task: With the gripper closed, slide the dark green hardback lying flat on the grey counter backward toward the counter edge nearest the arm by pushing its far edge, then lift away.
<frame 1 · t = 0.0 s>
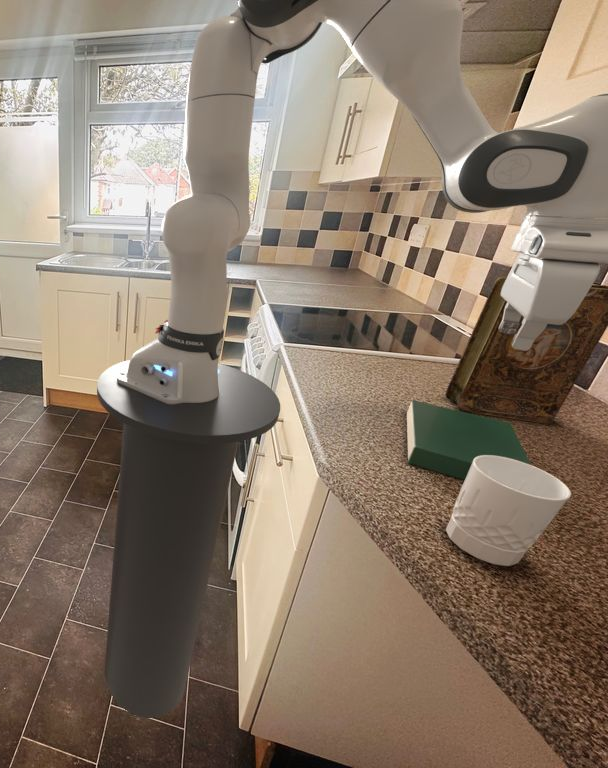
hand: (511, 340, 61), 19 cm above the countertop, tool pointing down, fingers open, 8 cm apart
white cup: (479, 545, 50), on the countertop
hardback: (458, 449, 69), on the countertop
book: (496, 412, 82), on the countertop
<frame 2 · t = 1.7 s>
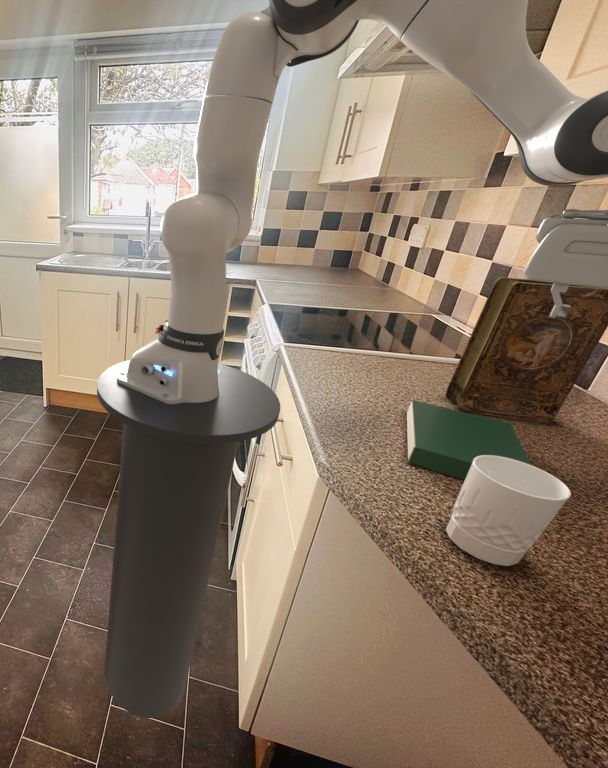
hand: (606, 325, 55), 23 cm above the countertop, tool pointing down, fingers open, 8 cm apart
nothing on the countertop moved.
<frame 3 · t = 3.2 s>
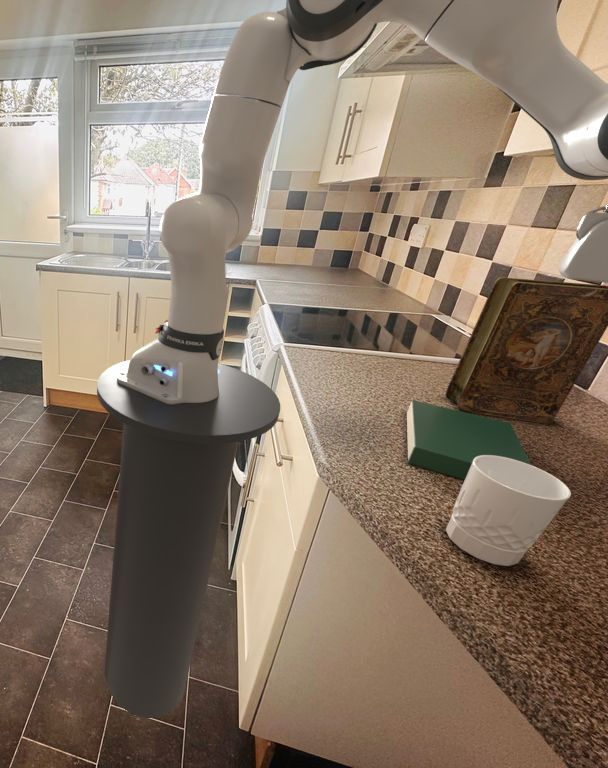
nothing on the countertop moved.
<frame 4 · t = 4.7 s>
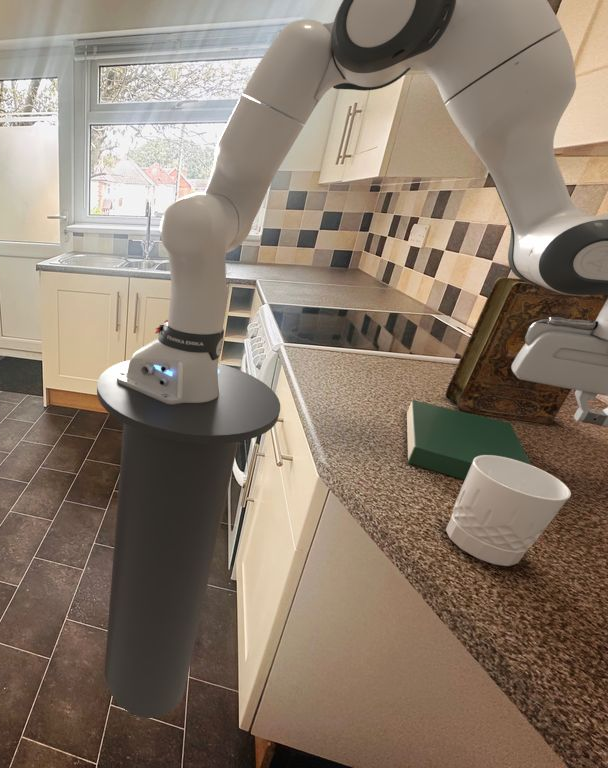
hand: (589, 422, 59), 9 cm above the countertop, tool pointing down, fingers closed
nothing on the countertop moved.
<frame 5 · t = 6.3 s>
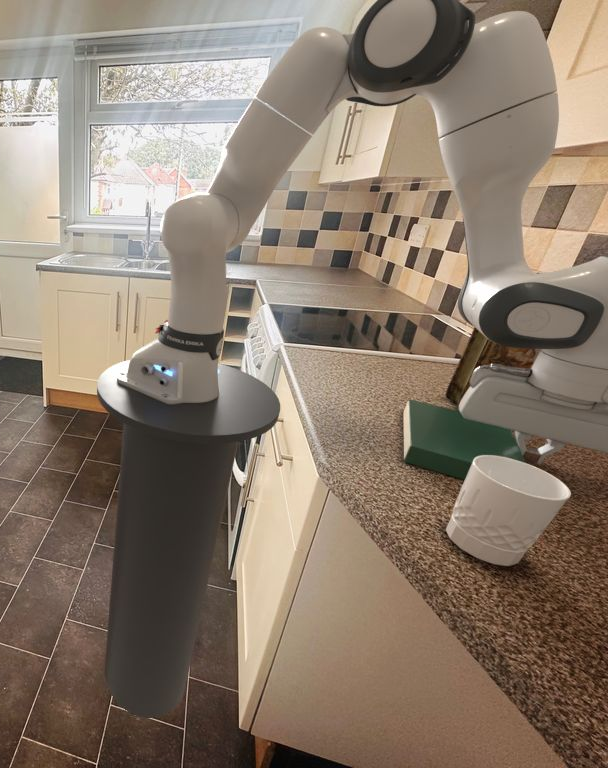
hand: (526, 459, 64), 1 cm above the countertop, tool pointing down, fingers closed
hardback: (454, 448, 69), on the countertop, touching gripper
everything else where it was.
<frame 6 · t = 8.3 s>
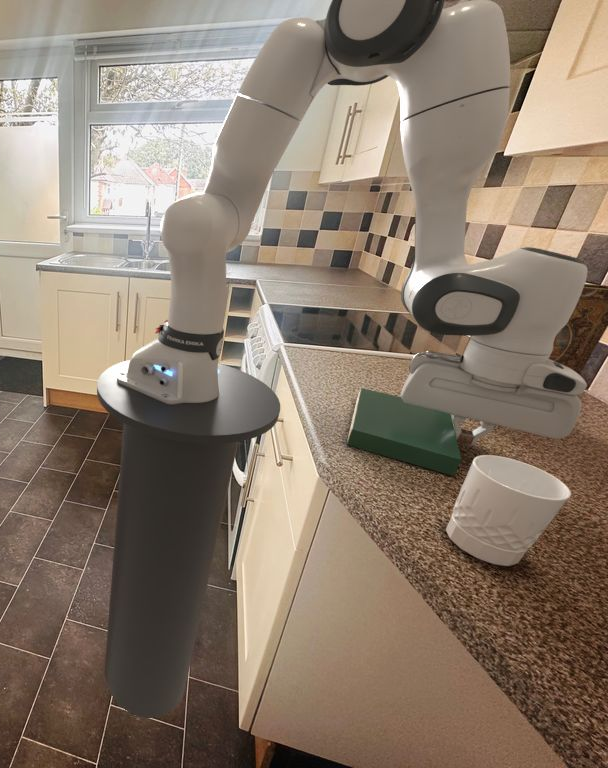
hand: (462, 441, 68), 2 cm above the countertop, tool pointing down, fingers closed
hardback: (397, 433, 73), on the countertop, touching gripper
everything else where it was.
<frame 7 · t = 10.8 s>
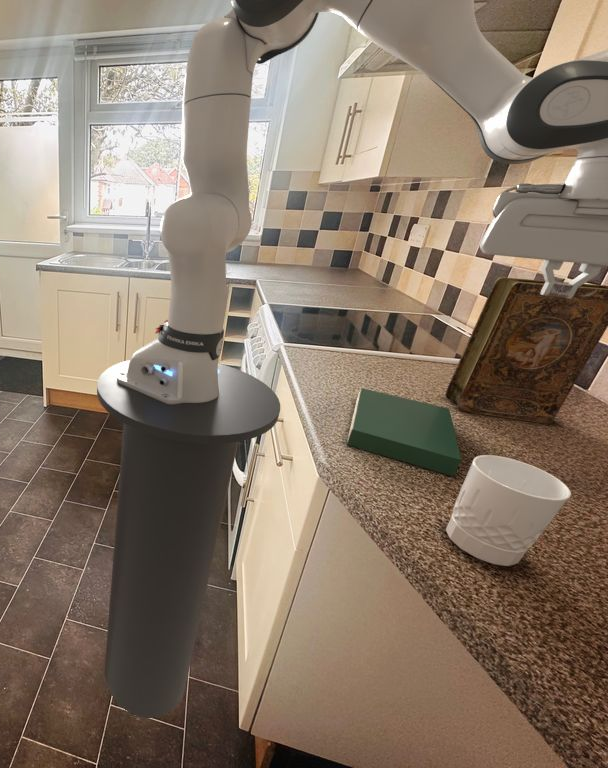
hand: (555, 296, 58), 26 cm above the countertop, tool pointing down, fingers closed
hardback: (397, 433, 73), on the countertop
everything else where it was.
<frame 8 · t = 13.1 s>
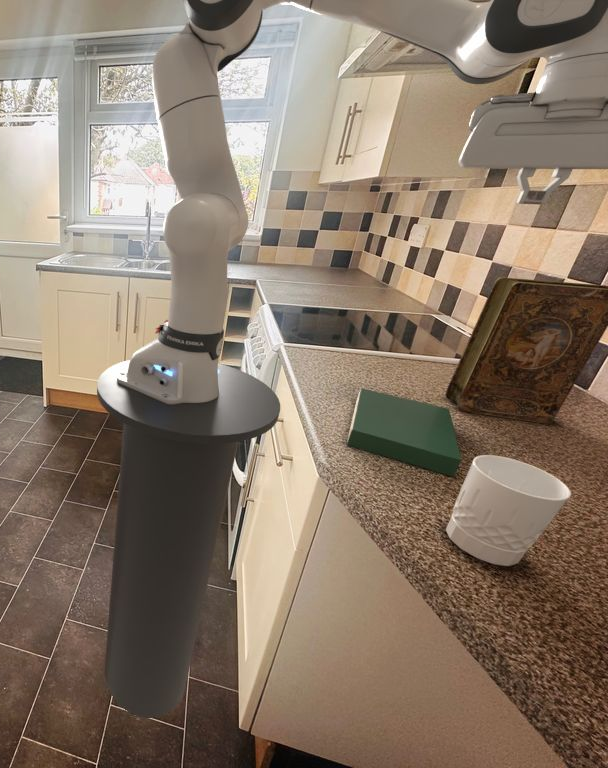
hand: (530, 204, 61), 37 cm above the countertop, tool pointing down, fingers closed
nothing on the countertop moved.
at the end: hardback inside the target area (0.6 cm from its centre), on the countertop; hardback moved 8.4 cm from its start; hardback tilted 0° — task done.
